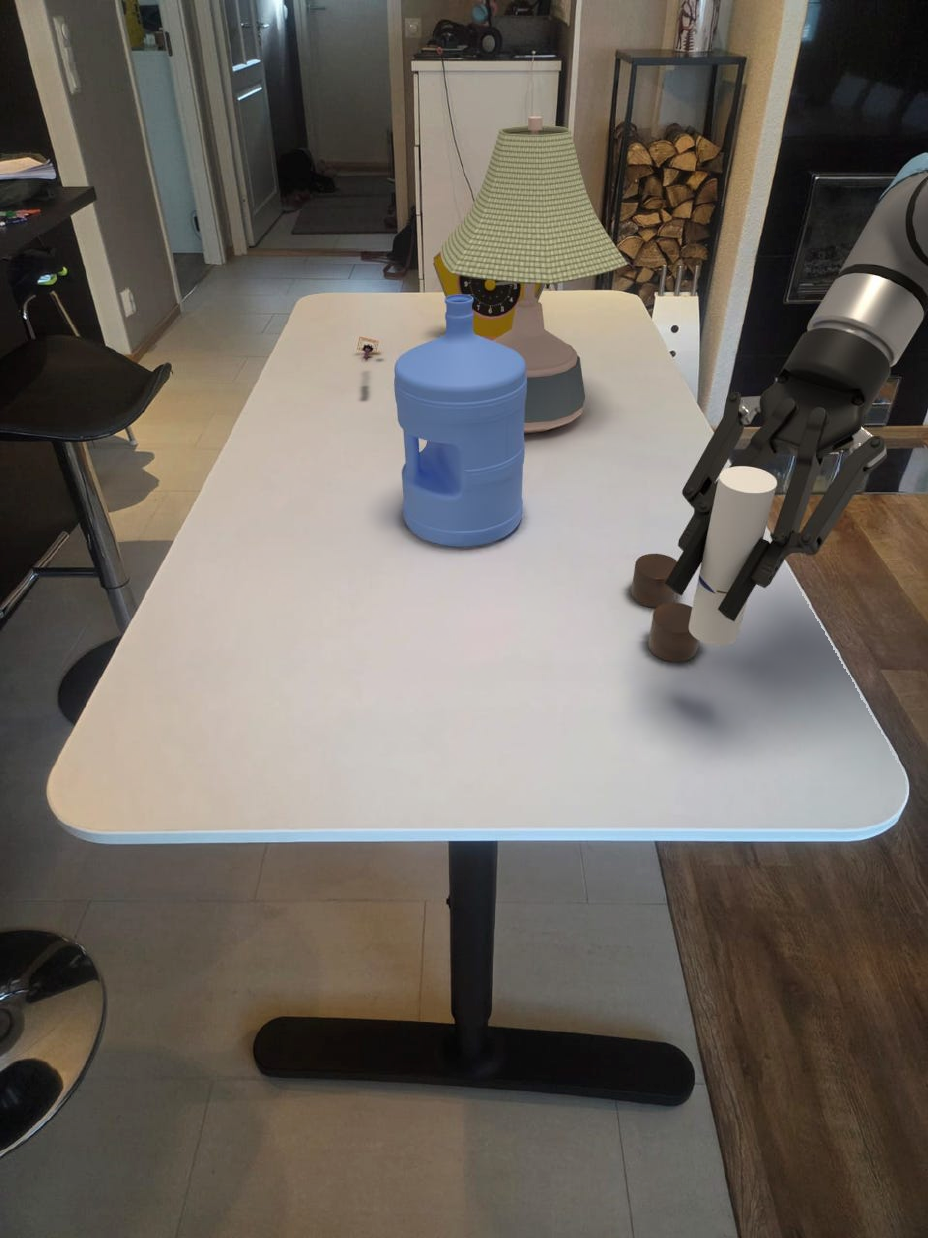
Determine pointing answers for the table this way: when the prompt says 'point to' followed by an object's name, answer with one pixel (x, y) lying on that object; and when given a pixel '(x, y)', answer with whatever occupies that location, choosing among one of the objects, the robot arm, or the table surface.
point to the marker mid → (672, 633)
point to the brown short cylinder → (653, 580)
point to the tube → (729, 548)
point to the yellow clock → (485, 299)
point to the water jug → (462, 433)
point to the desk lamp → (535, 254)
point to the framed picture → (367, 347)
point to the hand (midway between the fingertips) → (699, 601)
